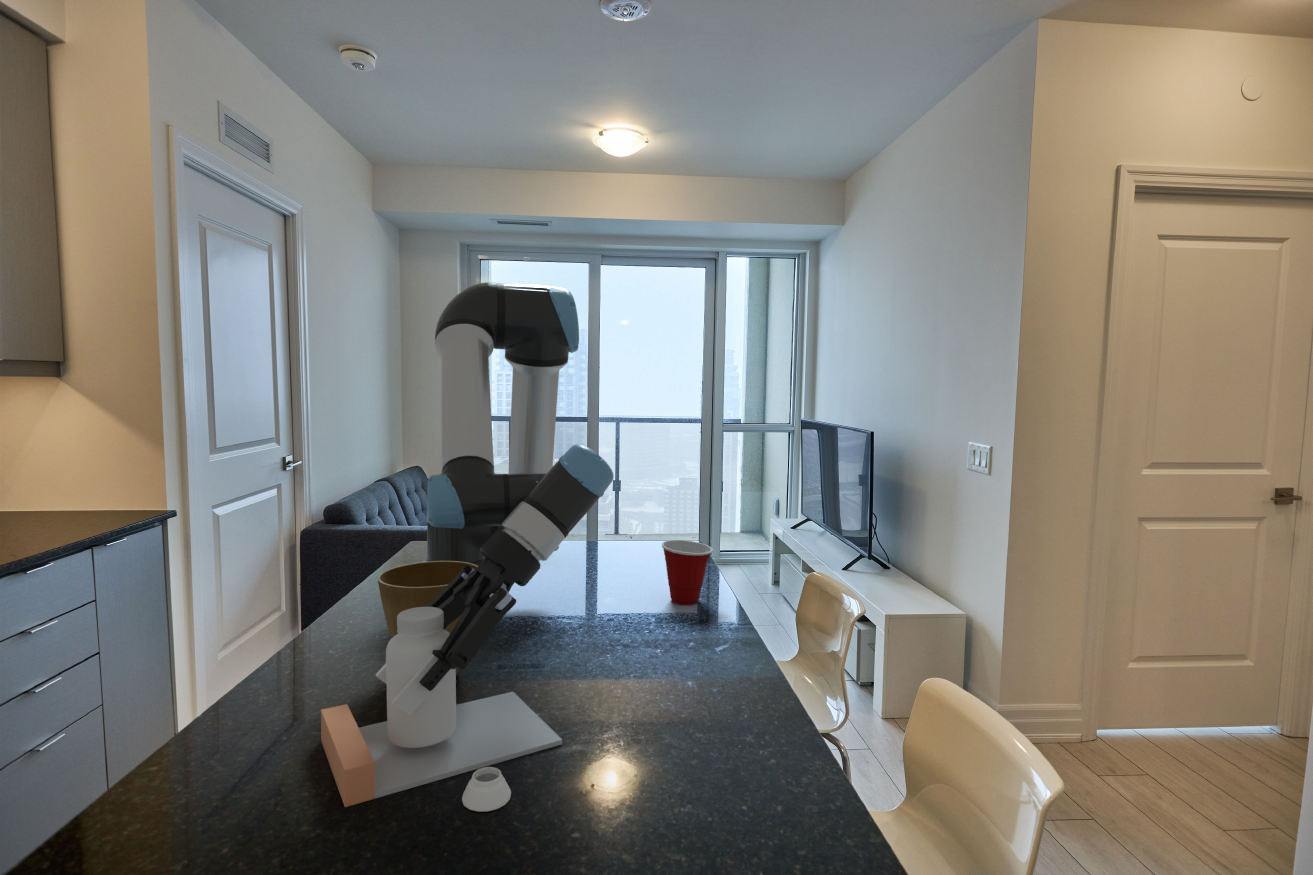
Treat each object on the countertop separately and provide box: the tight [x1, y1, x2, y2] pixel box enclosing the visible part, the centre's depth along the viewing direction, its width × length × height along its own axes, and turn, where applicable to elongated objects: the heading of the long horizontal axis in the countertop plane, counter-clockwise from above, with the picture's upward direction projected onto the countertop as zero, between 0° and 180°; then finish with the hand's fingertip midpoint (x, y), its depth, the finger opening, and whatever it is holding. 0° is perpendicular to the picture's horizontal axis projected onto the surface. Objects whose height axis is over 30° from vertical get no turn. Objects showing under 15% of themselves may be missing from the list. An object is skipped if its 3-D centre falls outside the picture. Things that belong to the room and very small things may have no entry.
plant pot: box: [377, 561, 478, 676], centre depth 106 cm, size 15×15×16 cm
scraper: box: [320, 691, 563, 808], centre depth 86 cm, size 16×25×4 cm, turn 124°
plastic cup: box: [661, 539, 714, 606], centre depth 146 cm, size 11×11×12 cm
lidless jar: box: [461, 766, 512, 812], centre depth 75 cm, size 5×3×5 cm
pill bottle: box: [385, 607, 457, 748], centre depth 84 cm, size 8×8×15 cm
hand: (392, 694), depth 83 cm, fingers closed on pill bottle, 8 cm apart
